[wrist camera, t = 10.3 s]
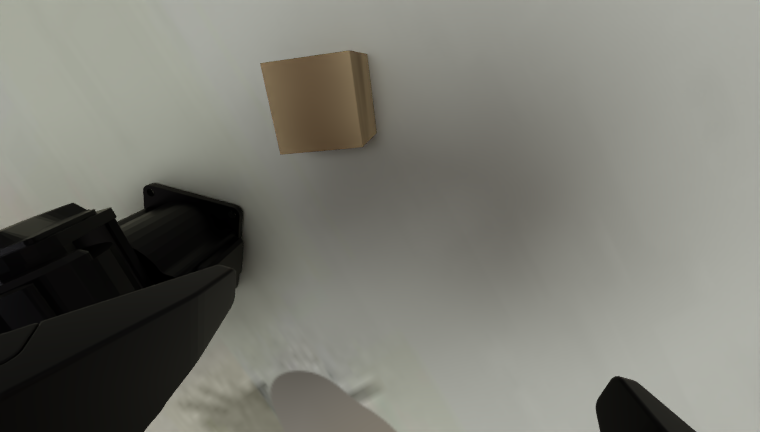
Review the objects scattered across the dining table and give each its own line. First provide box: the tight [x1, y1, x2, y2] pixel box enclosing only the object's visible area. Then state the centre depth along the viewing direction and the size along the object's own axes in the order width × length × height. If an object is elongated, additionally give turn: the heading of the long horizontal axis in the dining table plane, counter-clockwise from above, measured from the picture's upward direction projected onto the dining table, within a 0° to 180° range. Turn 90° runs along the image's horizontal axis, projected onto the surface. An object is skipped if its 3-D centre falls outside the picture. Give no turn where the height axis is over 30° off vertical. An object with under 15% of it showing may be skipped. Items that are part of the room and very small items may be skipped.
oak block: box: [260, 51, 377, 155], centre depth 18 cm, size 4×4×4 cm
